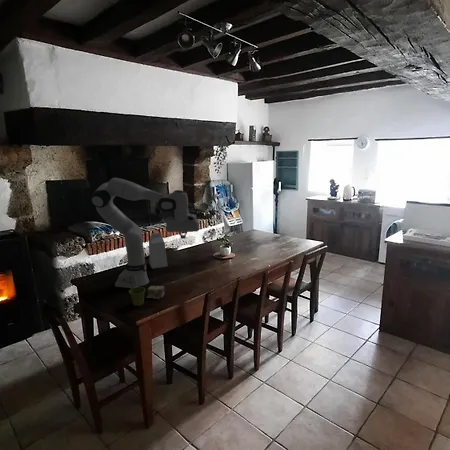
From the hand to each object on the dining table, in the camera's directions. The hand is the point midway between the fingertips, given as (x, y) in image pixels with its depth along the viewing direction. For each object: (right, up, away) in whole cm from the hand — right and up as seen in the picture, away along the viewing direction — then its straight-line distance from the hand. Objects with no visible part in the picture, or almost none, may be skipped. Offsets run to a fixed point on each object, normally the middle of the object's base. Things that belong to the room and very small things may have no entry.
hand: (183, 238), depth 204 cm
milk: (-26, -23, +53) cm, 63 cm away
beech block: (-12, -33, -1) cm, 35 cm away
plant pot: (-25, -39, -10) cm, 47 cm away
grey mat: (-18, -36, 0) cm, 40 cm away
